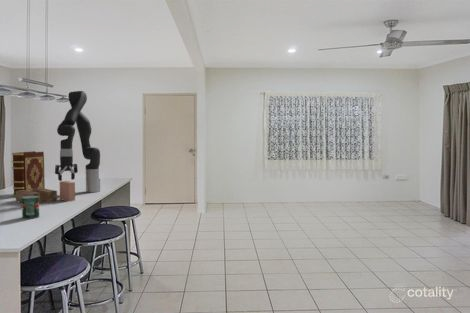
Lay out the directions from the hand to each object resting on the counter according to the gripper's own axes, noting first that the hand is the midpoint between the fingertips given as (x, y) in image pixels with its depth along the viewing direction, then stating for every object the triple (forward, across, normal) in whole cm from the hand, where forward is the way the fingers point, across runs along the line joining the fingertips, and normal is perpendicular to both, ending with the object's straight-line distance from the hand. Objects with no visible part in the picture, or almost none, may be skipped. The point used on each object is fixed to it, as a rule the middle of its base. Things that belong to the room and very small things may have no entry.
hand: (66, 180), depth 235 cm
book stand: (+13, +14, -12) cm, 22 cm away
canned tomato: (+14, +37, +30) cm, 50 cm away
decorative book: (+13, +5, -40) cm, 42 cm away
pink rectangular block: (+13, 0, 0) cm, 13 cm away
